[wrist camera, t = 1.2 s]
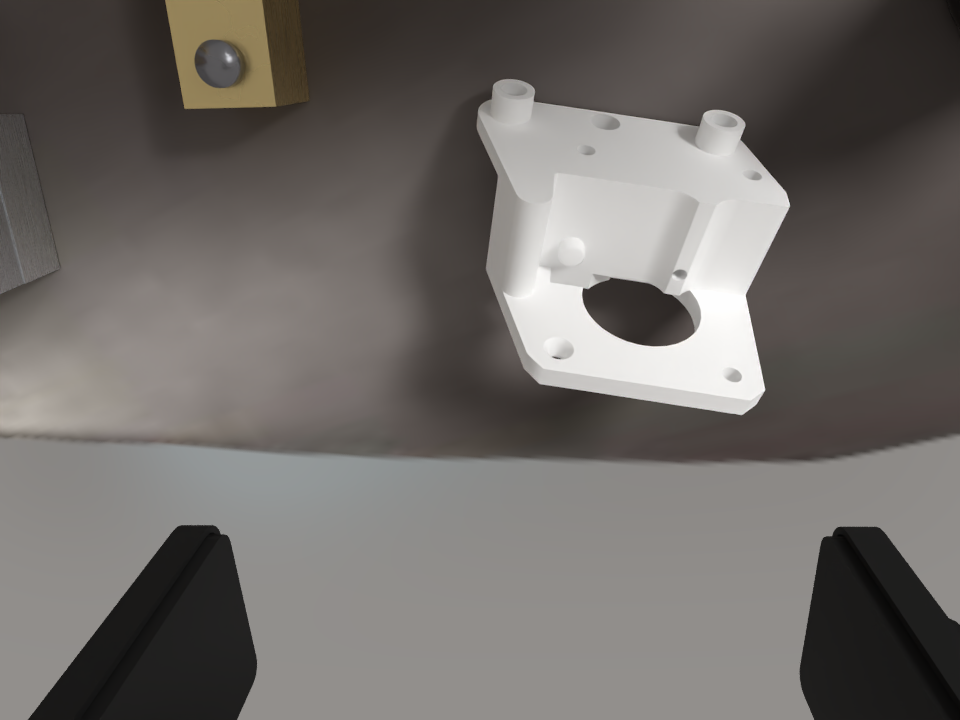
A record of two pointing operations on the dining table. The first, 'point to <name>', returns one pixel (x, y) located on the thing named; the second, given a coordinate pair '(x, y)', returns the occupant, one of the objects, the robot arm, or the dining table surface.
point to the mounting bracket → (628, 244)
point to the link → (238, 52)
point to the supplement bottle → (955, 10)
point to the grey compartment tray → (22, 210)
